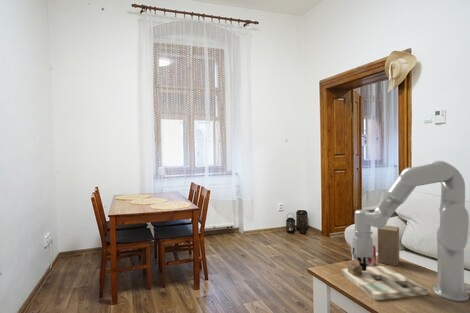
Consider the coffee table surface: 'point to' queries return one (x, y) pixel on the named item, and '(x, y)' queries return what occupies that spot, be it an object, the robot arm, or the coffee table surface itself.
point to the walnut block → (355, 269)
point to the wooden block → (388, 245)
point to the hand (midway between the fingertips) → (362, 269)
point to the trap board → (384, 283)
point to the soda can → (372, 259)
